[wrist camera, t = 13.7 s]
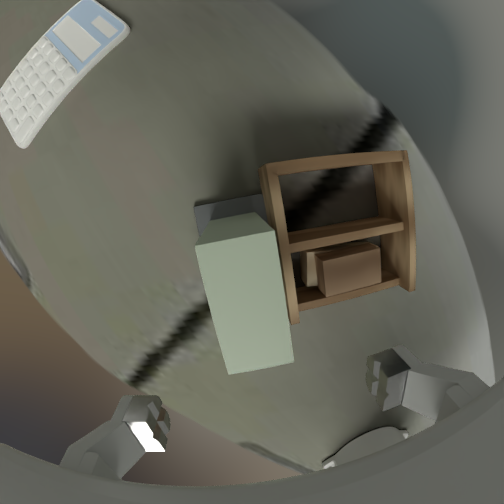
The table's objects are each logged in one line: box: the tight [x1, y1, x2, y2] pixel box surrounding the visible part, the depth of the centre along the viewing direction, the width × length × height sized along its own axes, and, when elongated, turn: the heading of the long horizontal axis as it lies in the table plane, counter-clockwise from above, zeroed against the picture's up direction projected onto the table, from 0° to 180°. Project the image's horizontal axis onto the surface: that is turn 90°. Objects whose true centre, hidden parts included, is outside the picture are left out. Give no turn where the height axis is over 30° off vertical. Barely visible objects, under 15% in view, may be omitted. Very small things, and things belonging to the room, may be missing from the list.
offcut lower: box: [300, 241, 378, 287], centre depth 28 cm, size 4×8×3 cm, turn 94°
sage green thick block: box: [195, 212, 294, 375], centre depth 22 cm, size 4×9×12 cm, turn 10°
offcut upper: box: [314, 243, 381, 297], centre depth 25 cm, size 4×6×2 cm, turn 100°
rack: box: [258, 150, 416, 325], centre depth 25 cm, size 14×14×6 cm
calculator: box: [0, 0, 130, 148], centre depth 20 cm, size 13×20×2 cm, turn 131°
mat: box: [194, 194, 268, 236], centre depth 28 cm, size 12×7×1 cm, turn 10°
